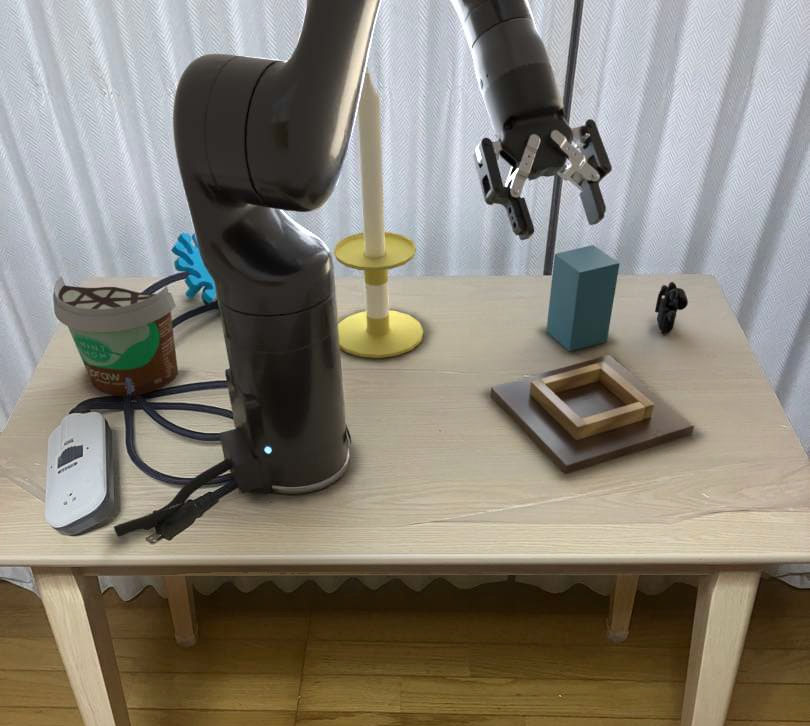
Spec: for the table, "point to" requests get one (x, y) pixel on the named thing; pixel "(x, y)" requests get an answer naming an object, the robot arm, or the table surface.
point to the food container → (120, 335)
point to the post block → (582, 297)
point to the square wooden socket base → (590, 413)
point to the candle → (375, 251)
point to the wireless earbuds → (669, 306)
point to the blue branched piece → (193, 268)
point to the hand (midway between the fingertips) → (563, 229)
